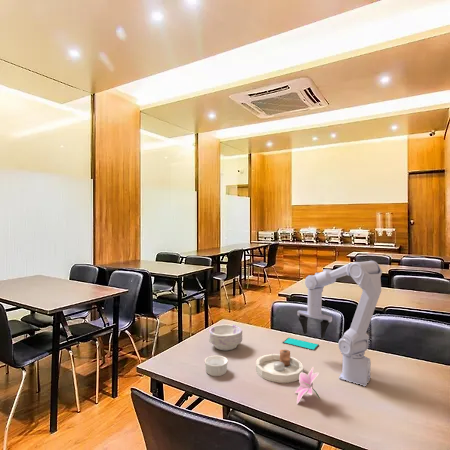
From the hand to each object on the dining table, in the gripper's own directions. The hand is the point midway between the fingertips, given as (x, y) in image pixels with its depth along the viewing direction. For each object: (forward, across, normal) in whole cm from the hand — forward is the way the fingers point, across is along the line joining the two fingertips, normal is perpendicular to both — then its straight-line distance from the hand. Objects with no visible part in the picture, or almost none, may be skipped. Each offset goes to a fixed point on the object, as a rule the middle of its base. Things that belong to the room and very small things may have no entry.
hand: (313, 335), depth 135 cm
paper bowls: (+10, +36, +14) cm, 40 cm away
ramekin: (+10, +25, +35) cm, 44 cm away
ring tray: (+9, +6, +20) cm, 23 cm away
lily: (+10, -10, +31) cm, 34 cm away
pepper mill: (+8, +6, +15) cm, 18 cm away
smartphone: (+10, +10, -10) cm, 17 cm away
